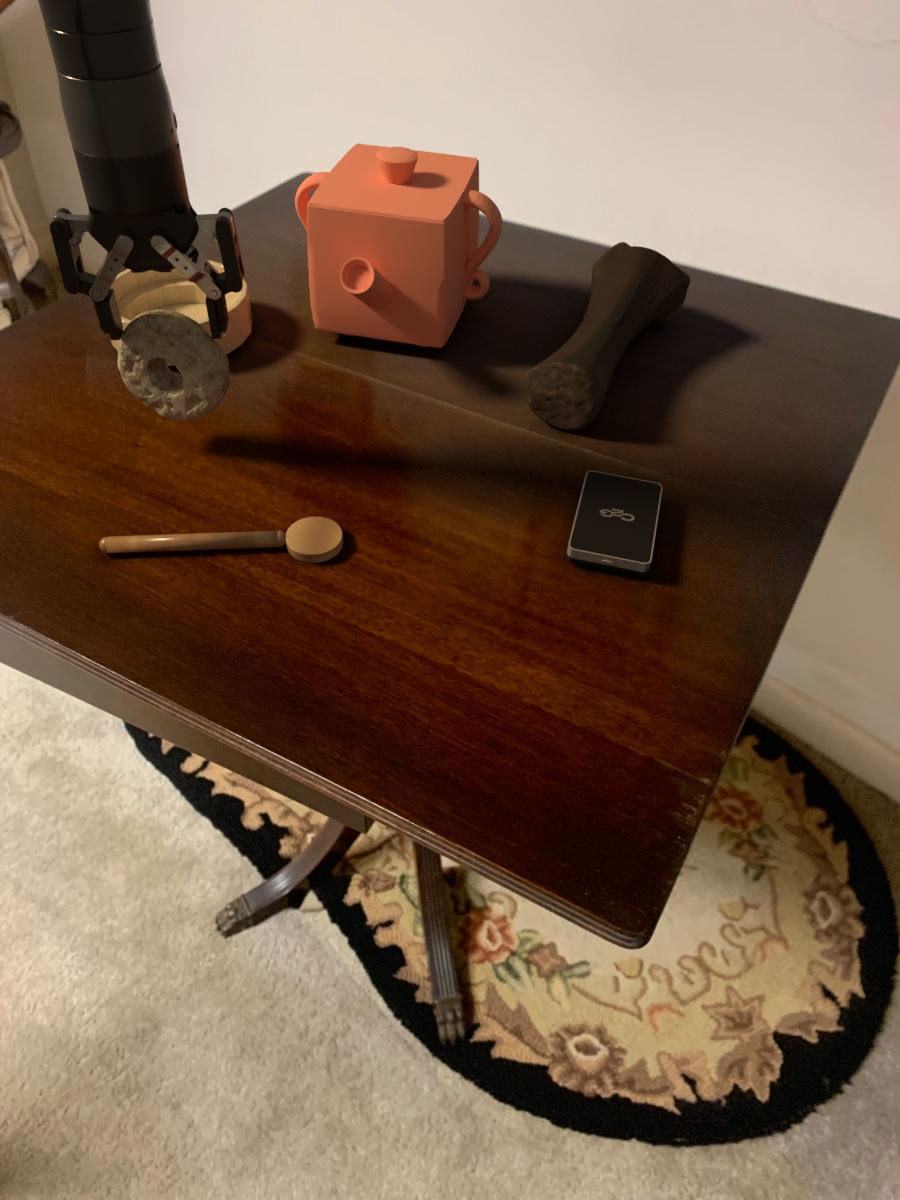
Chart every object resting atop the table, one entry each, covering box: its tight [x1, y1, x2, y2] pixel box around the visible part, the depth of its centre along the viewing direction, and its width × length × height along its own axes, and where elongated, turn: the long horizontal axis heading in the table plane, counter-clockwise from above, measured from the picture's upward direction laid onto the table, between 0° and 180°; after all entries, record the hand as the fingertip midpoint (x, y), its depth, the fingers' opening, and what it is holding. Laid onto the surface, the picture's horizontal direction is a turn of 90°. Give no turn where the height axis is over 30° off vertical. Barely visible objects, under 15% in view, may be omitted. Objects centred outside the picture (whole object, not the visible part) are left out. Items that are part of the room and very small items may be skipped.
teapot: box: [294, 143, 503, 349], centre depth 94 cm, size 25×23×18 cm
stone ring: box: [116, 309, 231, 422], centre depth 79 cm, size 10×4×10 cm, turn 73°
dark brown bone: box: [526, 241, 691, 431], centre depth 94 cm, size 11×10×28 cm
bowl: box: [108, 259, 253, 367], centre depth 96 cm, size 15×15×5 cm
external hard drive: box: [566, 470, 663, 578], centre depth 77 cm, size 7×11×2 cm, turn 165°
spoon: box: [98, 516, 344, 564], centre depth 74 cm, size 20×5×1 cm, turn 95°
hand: (168, 335), depth 76 cm, fingers closed on stone ring, 8 cm apart
